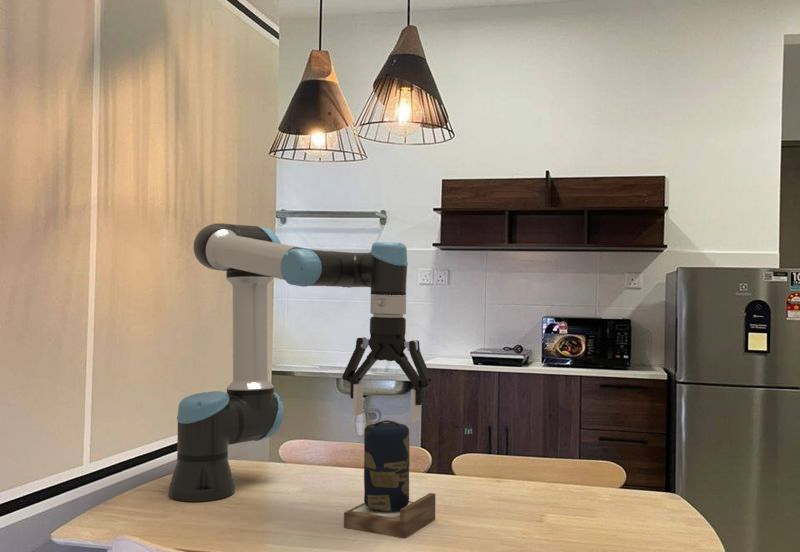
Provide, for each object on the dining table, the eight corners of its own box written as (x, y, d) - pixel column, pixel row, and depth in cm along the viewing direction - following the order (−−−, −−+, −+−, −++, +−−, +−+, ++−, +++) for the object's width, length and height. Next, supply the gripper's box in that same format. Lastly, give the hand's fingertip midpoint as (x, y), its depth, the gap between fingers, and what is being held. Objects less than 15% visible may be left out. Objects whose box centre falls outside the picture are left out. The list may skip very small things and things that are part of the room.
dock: (343, 527, 150) (344, 500, 150) (377, 510, 163) (377, 485, 163) (405, 538, 144) (405, 510, 144) (435, 519, 156) (435, 493, 156)
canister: (404, 515, 148) (404, 425, 149) (358, 512, 150) (359, 423, 151) (412, 502, 158) (413, 417, 158) (369, 499, 159) (370, 415, 160)
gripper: (328, 314, 157) (325, 414, 157) (434, 318, 146) (432, 426, 146) (346, 313, 164) (344, 409, 164) (449, 317, 153) (447, 420, 152)
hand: (385, 417), depth 155 cm, fingers open, 13 cm apart
